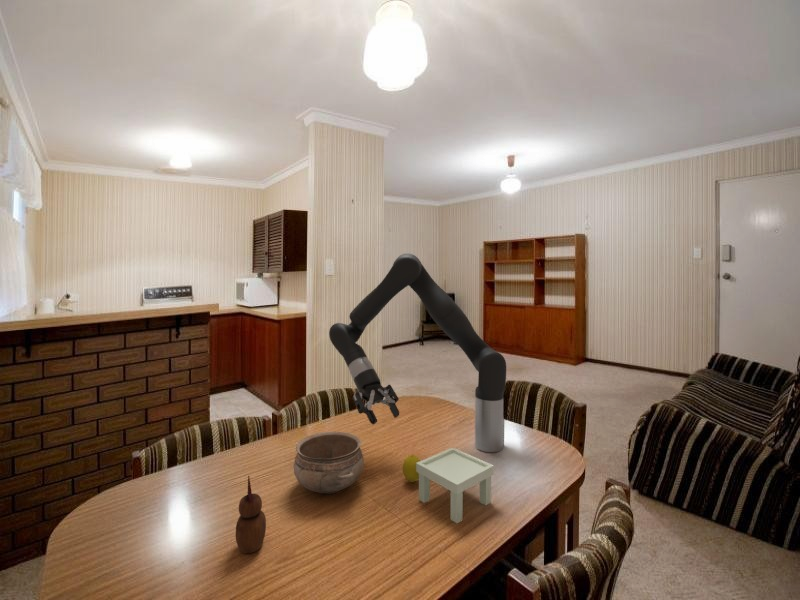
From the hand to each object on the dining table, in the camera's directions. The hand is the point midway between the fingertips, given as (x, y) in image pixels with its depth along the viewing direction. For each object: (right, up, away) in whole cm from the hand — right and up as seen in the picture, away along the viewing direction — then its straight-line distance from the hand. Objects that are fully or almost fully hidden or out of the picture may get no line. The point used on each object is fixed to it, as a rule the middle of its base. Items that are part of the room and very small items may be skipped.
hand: (386, 419), depth 118 cm
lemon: (+8, -16, -7) cm, 19 cm away
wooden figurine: (-28, -17, -34) cm, 47 cm away
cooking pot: (-15, -16, -10) cm, 24 cm away
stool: (+18, -16, -17) cm, 29 cm away
